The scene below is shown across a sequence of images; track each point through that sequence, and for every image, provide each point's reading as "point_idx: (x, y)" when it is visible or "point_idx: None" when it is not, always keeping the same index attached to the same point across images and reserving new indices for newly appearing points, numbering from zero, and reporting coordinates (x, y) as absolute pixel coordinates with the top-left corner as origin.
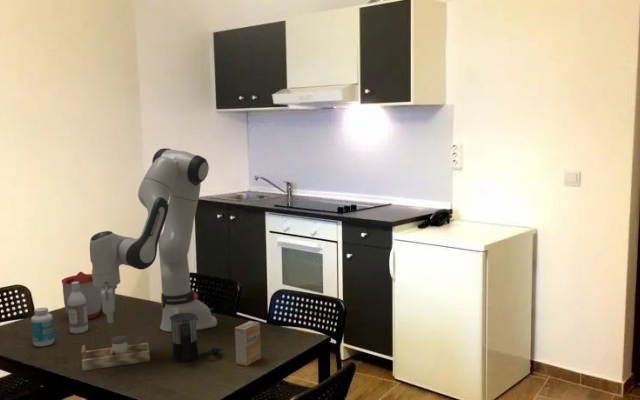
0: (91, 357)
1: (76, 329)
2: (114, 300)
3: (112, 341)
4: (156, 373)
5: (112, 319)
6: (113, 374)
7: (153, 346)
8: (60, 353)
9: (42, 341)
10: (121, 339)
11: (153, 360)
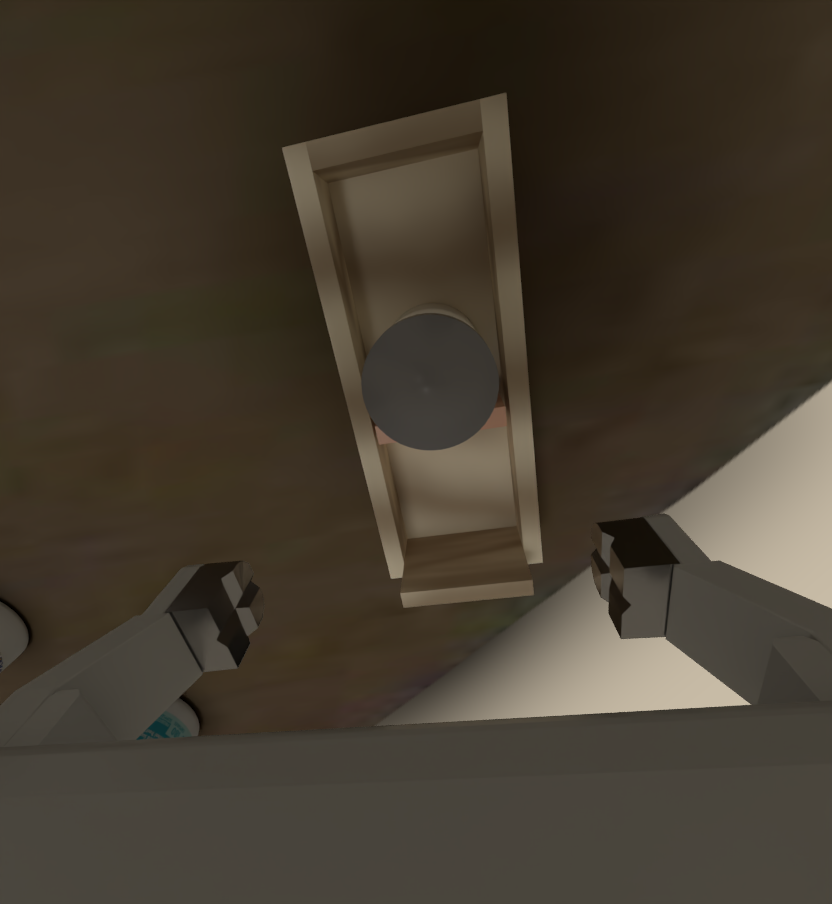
0: (401, 518)
1: (8, 644)
2: (329, 860)
3: (469, 435)
4: (779, 16)
5: (690, 544)
6: (649, 361)
7: (194, 144)
8: (279, 645)
9: (186, 736)
10: (464, 362)
11: (487, 94)
